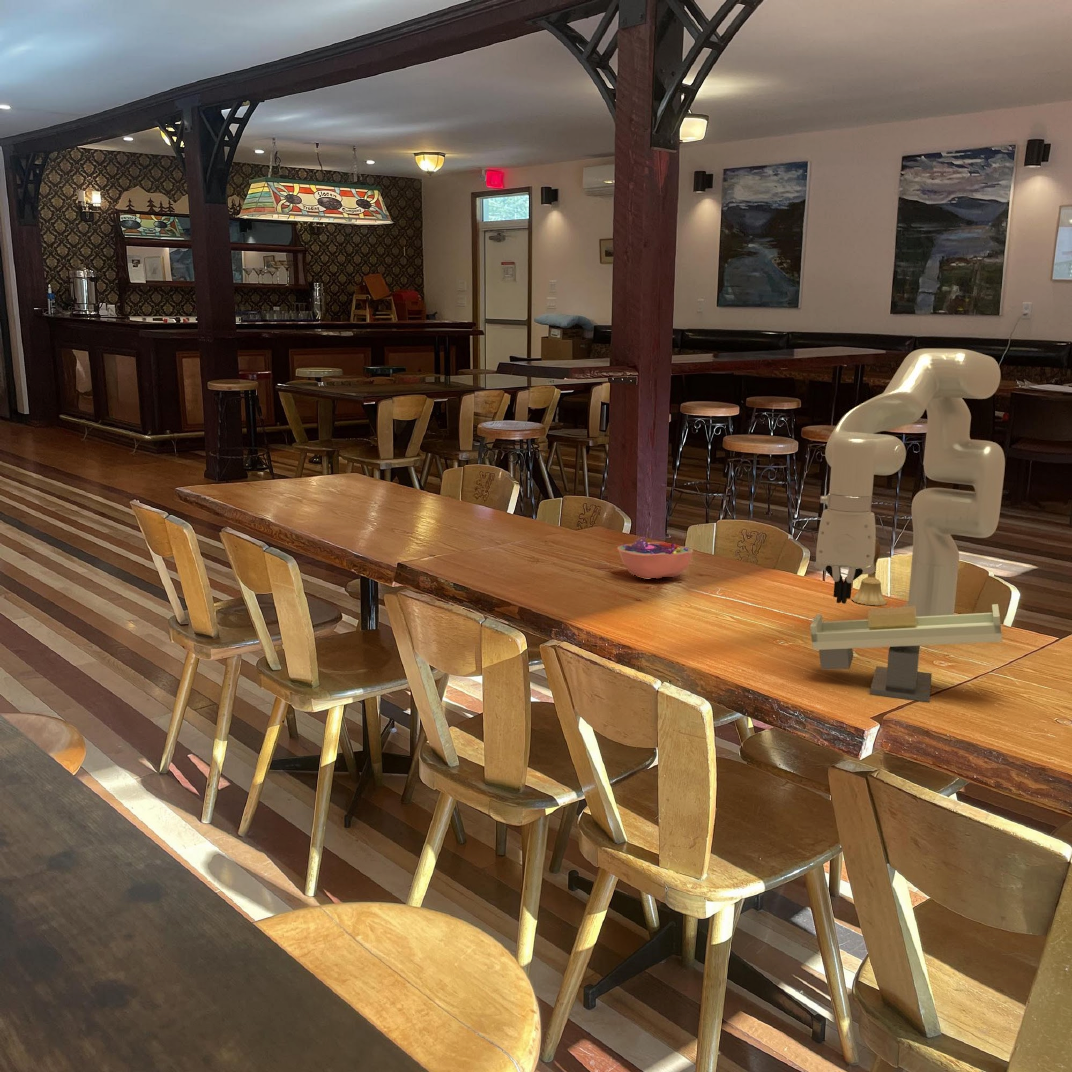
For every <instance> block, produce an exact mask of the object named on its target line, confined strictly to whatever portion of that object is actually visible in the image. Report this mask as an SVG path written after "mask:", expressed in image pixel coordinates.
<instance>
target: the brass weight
mask: <svg viewBox="0 0 1072 1072" xmlns="http://www.w3.org/2000/svg"><path fill="white" fill-rule="evenodd" d="M867 619H868V622H869V630H881V629H901V628H918V626H917V616H916V607H915V606H910V607H901V606H897V607H880V608H879V607H877V608H869V611H868V613H867Z"/></svg>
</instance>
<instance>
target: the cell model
mask: <svg viewBox="0 0 1072 1072" xmlns="http://www.w3.org/2000/svg"><path fill="white" fill-rule="evenodd" d="M616 549H617V550H618V552H619V555H620V558H621V561H622V563H623V564H624V566H625V567H626V569H627V571H628V573H629V574H630V573H631V574H630V575H632V574H633V575H632V576H634V575H637V576H640V577H644V578H656V579H663V578H662V577H673V578H675V577H674V576H676V577H677V576H679V575H680V574H682V573H684V571H686V570H687V568H688V567H689V565H690V562H691V559H692V554H693V552H694V549H693V548H690V547H687V546H684V545H683V546H682V545H678V544H675V543H672V542H671V543H669V542H661V541H660V542H659V541H658V542H657V541H649V542H647V541H646V537H645V536H640V537H638V538H637V539H635V540H634V542H633V543H627V544H622V545H618V546H617V548H616Z"/></svg>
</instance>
